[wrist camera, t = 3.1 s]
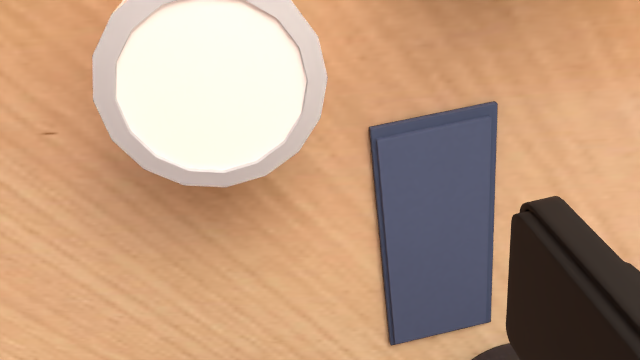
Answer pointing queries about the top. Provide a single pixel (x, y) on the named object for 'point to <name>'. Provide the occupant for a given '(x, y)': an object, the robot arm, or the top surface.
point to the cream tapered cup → (209, 86)
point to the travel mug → (499, 354)
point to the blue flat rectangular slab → (436, 219)
